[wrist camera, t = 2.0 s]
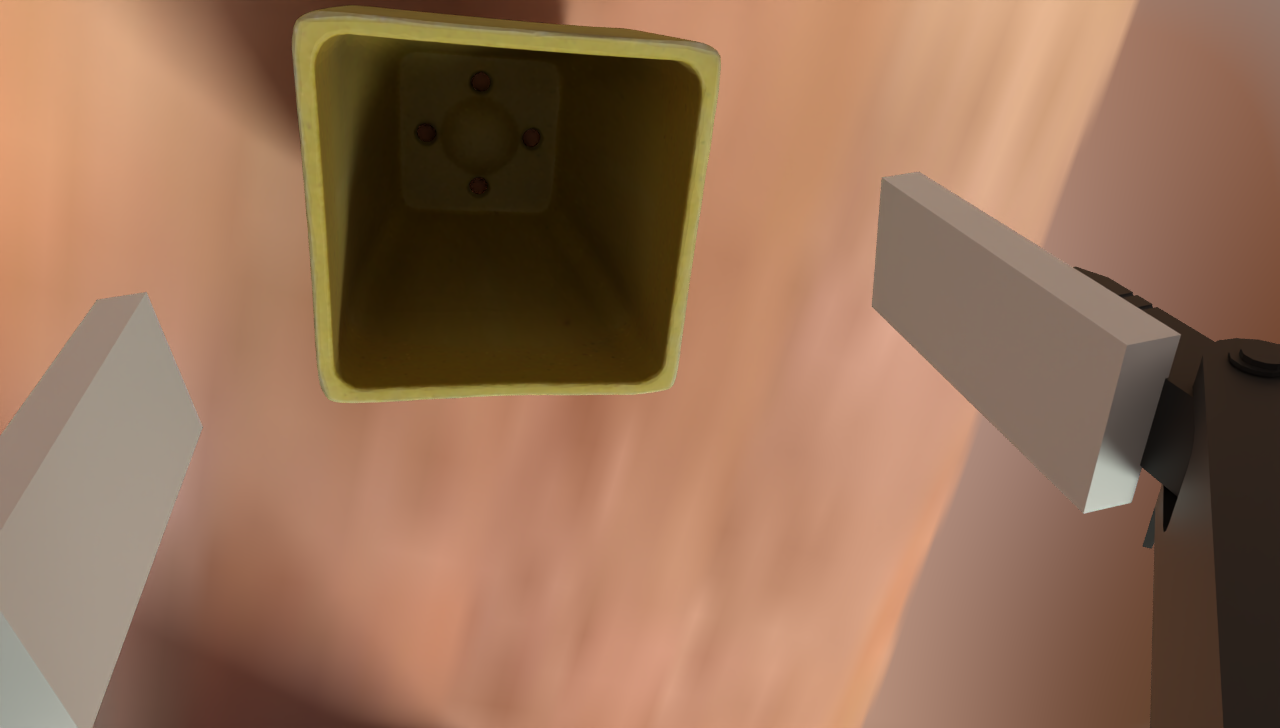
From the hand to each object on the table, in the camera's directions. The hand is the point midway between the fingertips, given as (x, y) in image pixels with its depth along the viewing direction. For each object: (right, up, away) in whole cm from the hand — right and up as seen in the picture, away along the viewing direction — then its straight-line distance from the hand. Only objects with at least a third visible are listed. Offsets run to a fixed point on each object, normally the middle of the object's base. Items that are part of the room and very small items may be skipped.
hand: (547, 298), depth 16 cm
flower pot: (-3, +6, +11) cm, 13 cm away
